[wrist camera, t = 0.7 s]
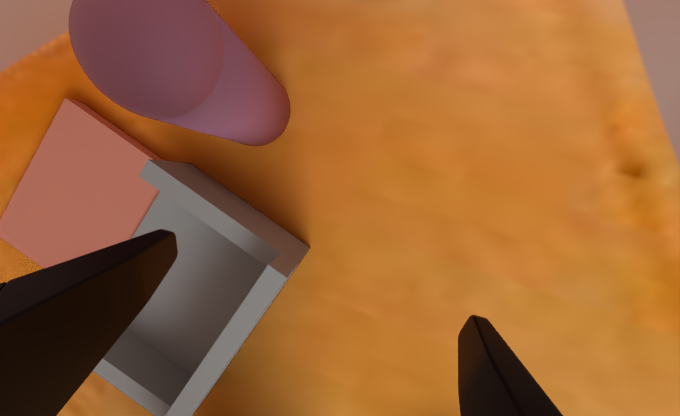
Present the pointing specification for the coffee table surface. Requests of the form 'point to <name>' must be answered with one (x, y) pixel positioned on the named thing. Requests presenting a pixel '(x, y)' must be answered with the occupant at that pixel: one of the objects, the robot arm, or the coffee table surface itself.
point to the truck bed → (143, 217)
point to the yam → (178, 67)
